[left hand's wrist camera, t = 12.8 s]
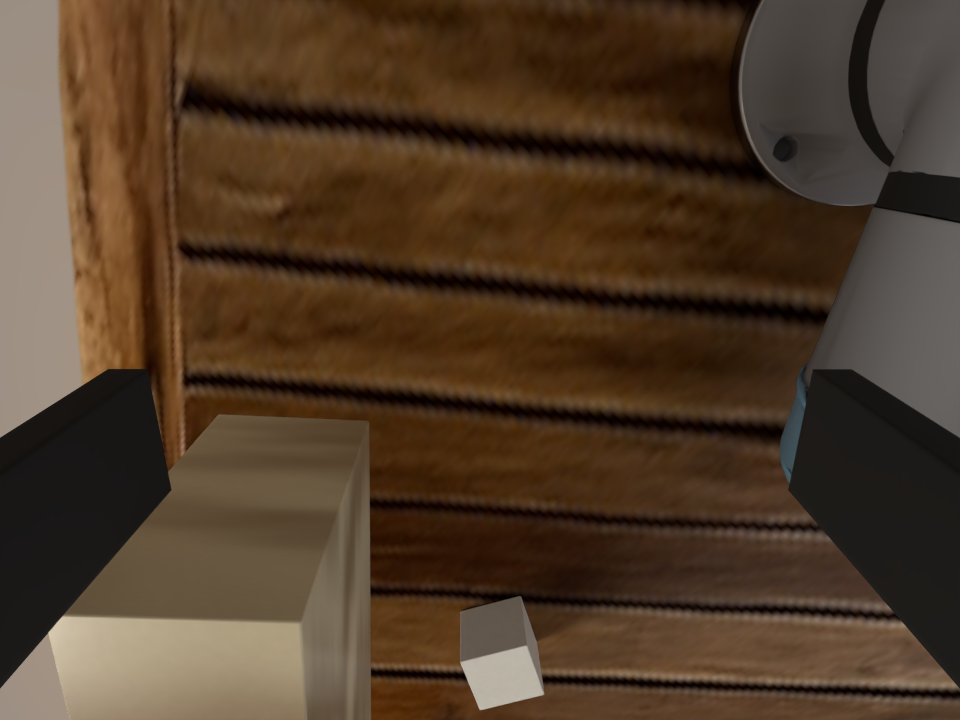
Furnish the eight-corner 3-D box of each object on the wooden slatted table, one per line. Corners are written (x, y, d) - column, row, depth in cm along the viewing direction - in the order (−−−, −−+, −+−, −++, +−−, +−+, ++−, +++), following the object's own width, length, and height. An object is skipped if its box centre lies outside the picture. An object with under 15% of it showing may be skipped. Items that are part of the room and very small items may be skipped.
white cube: (520, 595, 48) (527, 645, 44) (536, 642, 50) (544, 694, 45) (460, 610, 49) (460, 662, 44) (478, 656, 50) (479, 710, 46)
